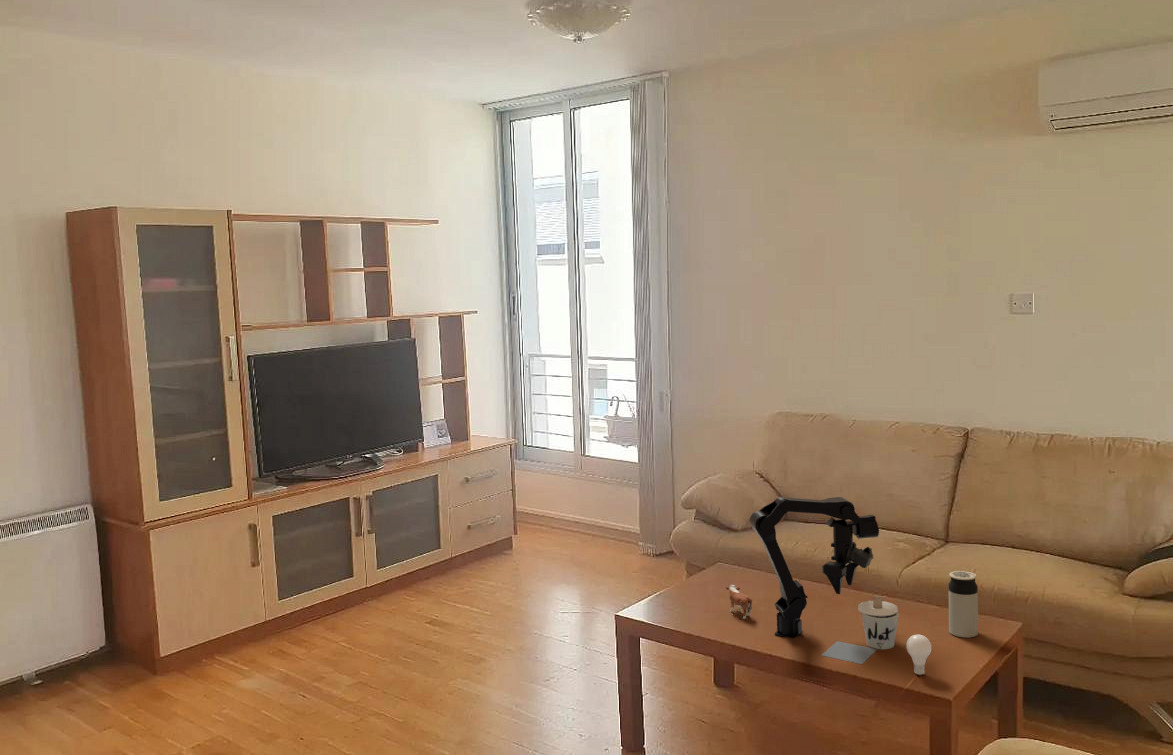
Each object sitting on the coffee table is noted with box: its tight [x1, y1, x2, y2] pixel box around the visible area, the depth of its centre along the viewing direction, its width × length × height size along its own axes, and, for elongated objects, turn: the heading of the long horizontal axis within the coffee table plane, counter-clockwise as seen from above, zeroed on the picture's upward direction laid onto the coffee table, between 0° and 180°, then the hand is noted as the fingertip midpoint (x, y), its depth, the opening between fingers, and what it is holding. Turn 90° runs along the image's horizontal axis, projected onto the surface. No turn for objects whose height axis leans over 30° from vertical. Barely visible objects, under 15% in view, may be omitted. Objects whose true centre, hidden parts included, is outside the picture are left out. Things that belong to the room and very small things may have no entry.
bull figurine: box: [725, 584, 753, 620], centre depth 298 cm, size 4×13×8 cm, turn 19°
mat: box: [820, 640, 878, 665], centre depth 263 cm, size 12×12×1 cm
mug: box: [860, 611, 900, 650], centre depth 270 cm, size 10×15×10 cm
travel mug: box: [948, 570, 979, 639], centre depth 273 cm, size 8×8×18 cm
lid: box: [857, 595, 899, 617], centre depth 269 cm, size 11×11×4 cm
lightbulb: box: [905, 634, 932, 676], centre depth 247 cm, size 6×6×11 cm
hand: (844, 589), depth 280 cm, fingers open, 9 cm apart
